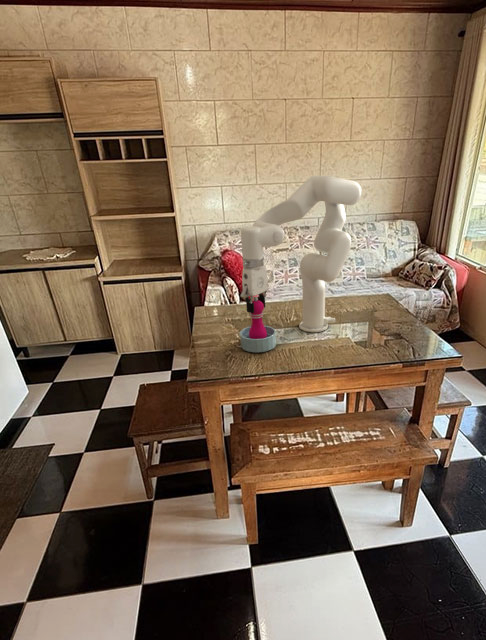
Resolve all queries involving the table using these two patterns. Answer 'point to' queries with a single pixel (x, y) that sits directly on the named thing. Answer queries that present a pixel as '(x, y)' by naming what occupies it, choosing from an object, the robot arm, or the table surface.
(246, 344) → the bowl
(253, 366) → the table surface
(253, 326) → the pepper mill
